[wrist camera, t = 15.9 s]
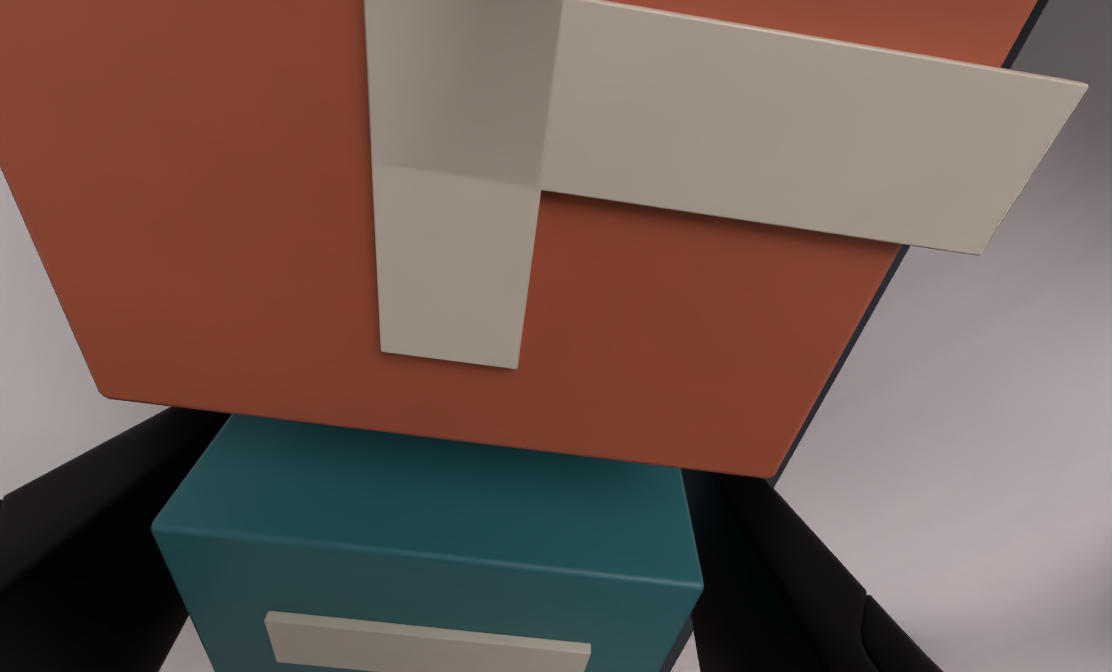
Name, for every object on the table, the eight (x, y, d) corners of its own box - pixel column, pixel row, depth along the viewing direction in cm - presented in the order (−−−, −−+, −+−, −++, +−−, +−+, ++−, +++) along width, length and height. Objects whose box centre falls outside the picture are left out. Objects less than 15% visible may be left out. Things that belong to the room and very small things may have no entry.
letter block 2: (367, 453, 11) (242, 756, 7) (352, 247, 8) (136, 538, 4) (592, 480, 11) (603, 788, 7) (645, 289, 9) (710, 600, 5)
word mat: (263, 629, 16) (255, 647, 16) (-254, -1012, 4) (-359, -1136, 3) (662, 669, 17) (664, 687, 17) (1353, -602, 4) (1432, -659, 4)
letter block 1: (349, 160, 8) (86, 412, 4) (315, -334, 5) (-852, -1592, 1) (692, 211, 8) (821, 500, 4) (828, -233, 5) (1697, -848, 1)
